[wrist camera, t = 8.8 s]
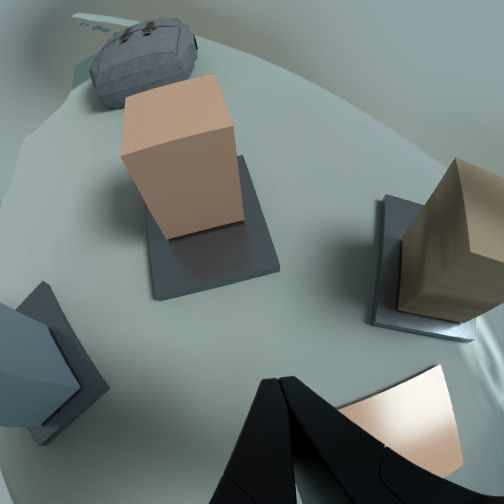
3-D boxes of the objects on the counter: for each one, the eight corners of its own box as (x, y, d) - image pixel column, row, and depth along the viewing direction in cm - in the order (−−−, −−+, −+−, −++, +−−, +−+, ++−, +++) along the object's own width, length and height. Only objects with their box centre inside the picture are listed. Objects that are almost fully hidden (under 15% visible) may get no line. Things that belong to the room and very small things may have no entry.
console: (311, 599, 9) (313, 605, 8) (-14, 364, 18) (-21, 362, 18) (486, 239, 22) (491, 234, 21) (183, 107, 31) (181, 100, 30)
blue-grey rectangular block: (80, 387, 17) (-12, 369, 9) (38, 427, 15) (-50, 421, 7) (46, 324, 19) (-35, 282, 11) (8, 366, 17) (-72, 338, 9)
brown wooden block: (463, 323, 18) (545, 277, 10) (397, 310, 19) (470, 251, 11) (463, 253, 20) (525, 189, 12) (402, 236, 21) (455, 157, 13)
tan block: (244, 219, 22) (233, 125, 14) (166, 239, 22) (120, 156, 14) (227, 163, 25) (214, 73, 17) (160, 180, 25) (125, 97, 17)
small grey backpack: (204, 93, 33) (197, 38, 42) (194, 34, 25) (190, -2, 34) (92, 123, 32) (115, 59, 41) (67, 73, 25) (102, 22, 33)
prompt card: (459, 463, 14) (463, 464, 13) (355, 518, 13) (357, 520, 13) (436, 365, 18) (440, 364, 17) (325, 413, 17) (327, 413, 17)
